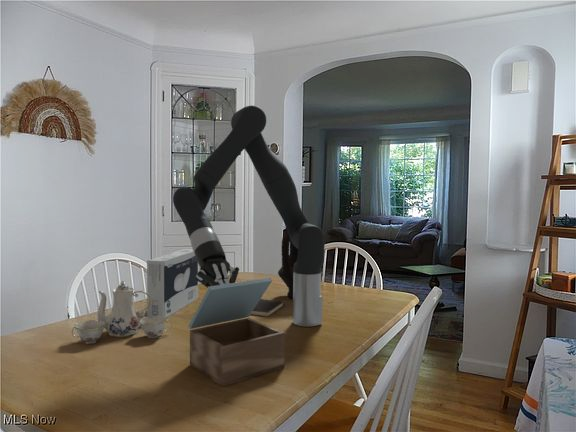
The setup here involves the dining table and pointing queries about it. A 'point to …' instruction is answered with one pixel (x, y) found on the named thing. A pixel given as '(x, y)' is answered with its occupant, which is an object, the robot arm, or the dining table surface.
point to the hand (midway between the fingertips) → (229, 301)
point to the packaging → (171, 282)
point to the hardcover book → (267, 307)
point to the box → (236, 350)
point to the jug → (288, 262)
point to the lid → (229, 302)
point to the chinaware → (121, 318)
